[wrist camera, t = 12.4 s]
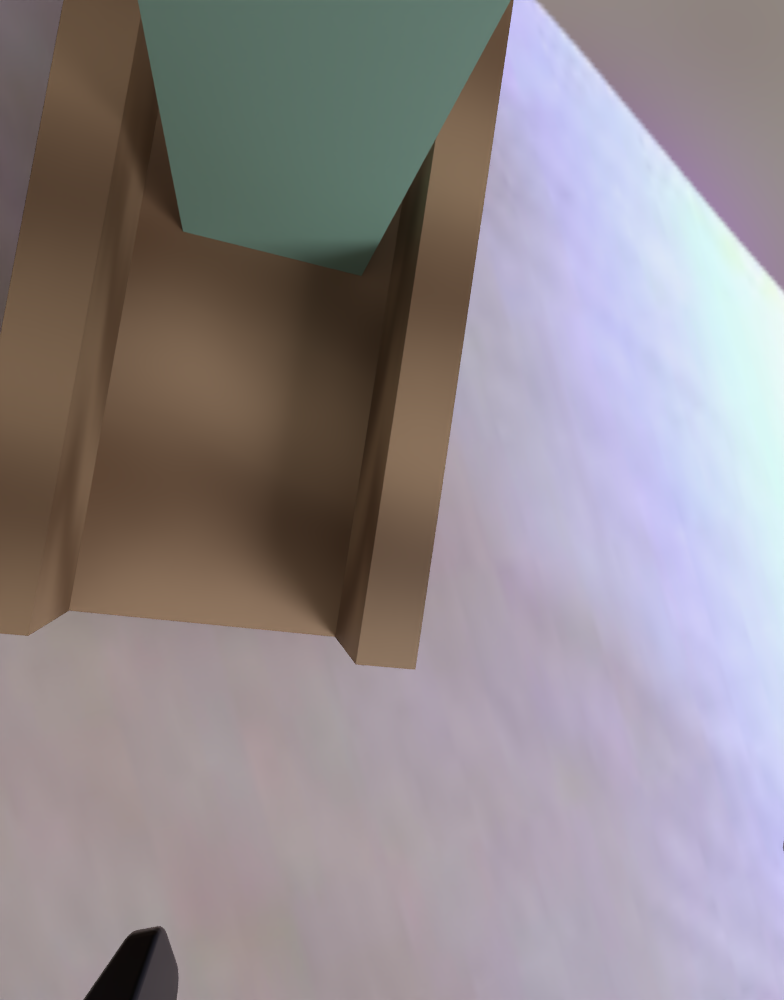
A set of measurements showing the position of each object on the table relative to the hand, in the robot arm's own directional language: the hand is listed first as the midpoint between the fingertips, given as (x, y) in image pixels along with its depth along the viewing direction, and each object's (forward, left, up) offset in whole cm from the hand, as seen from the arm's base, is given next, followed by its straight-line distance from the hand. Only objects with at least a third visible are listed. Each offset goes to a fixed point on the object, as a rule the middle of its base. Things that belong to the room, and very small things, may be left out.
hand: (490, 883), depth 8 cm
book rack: (+2, +11, -10) cm, 15 cm away
